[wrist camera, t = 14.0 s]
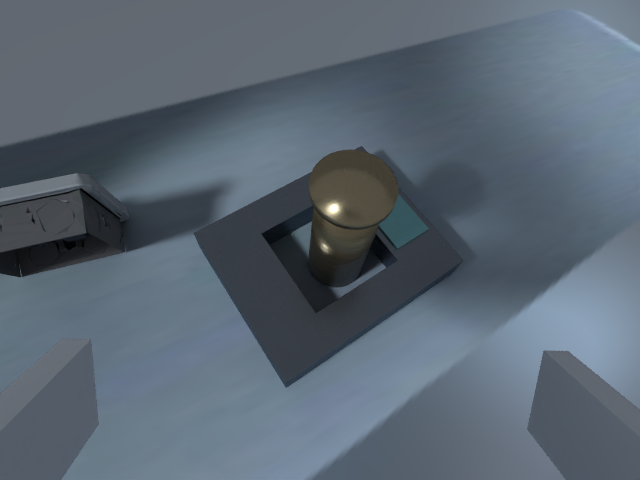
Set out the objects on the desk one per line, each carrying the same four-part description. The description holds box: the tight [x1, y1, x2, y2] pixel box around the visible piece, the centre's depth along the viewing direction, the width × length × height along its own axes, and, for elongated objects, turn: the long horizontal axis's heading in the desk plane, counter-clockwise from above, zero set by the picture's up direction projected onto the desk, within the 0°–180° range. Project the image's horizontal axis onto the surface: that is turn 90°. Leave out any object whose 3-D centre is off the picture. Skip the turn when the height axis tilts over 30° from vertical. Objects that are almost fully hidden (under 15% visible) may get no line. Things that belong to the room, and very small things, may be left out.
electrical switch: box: [0, 173, 130, 277], centre depth 29 cm, size 9×5×9 cm, turn 107°
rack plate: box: [194, 146, 463, 387], centre depth 33 cm, size 16×13×3 cm
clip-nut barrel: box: [308, 150, 398, 287], centre depth 29 cm, size 5×5×11 cm
